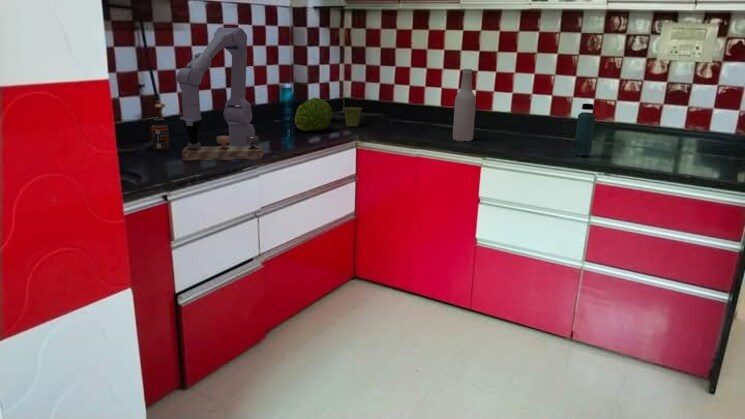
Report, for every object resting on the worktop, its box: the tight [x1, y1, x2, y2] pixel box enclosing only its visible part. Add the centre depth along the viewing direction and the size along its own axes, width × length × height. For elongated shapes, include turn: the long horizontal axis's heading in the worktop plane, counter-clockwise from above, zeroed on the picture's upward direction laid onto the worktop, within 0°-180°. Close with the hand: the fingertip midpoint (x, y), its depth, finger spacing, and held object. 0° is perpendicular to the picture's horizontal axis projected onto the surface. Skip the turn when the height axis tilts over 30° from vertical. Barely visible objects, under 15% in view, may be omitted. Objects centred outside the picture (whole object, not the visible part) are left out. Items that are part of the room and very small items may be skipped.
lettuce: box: [294, 97, 333, 132], centre depth 258 cm, size 15×25×16 cm
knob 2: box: [246, 135, 260, 148], centre depth 199 cm, size 4×4×4 cm
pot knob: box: [216, 135, 230, 148], centre depth 198 cm, size 4×4×4 cm
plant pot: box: [342, 106, 363, 128], centre depth 274 cm, size 9×9×9 cm
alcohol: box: [452, 68, 477, 142], centre depth 240 cm, size 9×9×30 cm
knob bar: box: [181, 145, 264, 161], centre depth 199 cm, size 27×9×3 cm, turn 100°
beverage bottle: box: [572, 102, 596, 155], centre depth 212 cm, size 6×7×20 cm
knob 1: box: [187, 141, 202, 150], centre depth 197 cm, size 4×4×4 cm
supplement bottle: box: [150, 118, 171, 151], centre depth 208 cm, size 6×6×11 cm
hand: (193, 143), depth 196 cm, fingers closed, pressing on knob 1
